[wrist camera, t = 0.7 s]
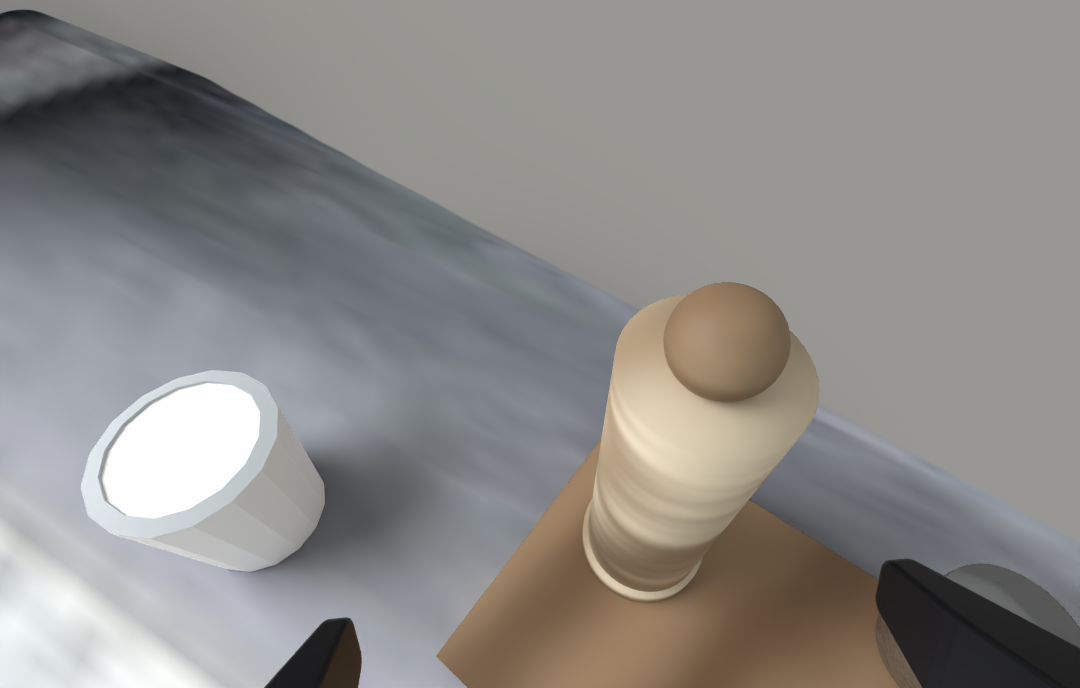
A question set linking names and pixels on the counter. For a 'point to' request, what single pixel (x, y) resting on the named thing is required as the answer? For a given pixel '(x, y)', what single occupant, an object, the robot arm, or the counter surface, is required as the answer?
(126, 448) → the white cup
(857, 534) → the counter surface
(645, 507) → the pepper mill
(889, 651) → the spice tin
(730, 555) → the serving board
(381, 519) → the counter surface
